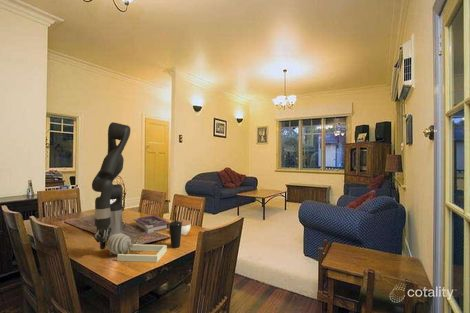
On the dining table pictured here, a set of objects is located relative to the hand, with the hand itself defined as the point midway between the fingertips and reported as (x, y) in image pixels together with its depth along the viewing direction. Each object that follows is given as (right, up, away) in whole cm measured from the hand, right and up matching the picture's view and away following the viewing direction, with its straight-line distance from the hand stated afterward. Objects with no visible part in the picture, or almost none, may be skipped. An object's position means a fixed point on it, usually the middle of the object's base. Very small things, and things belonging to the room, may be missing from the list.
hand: (102, 248), depth 134 cm
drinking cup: (+36, -3, +11) cm, 38 cm away
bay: (+21, -3, -1) cm, 22 cm away
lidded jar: (+35, -3, +34) cm, 49 cm away
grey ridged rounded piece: (+9, -3, 0) cm, 10 cm away
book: (+9, -3, +49) cm, 50 cm away
